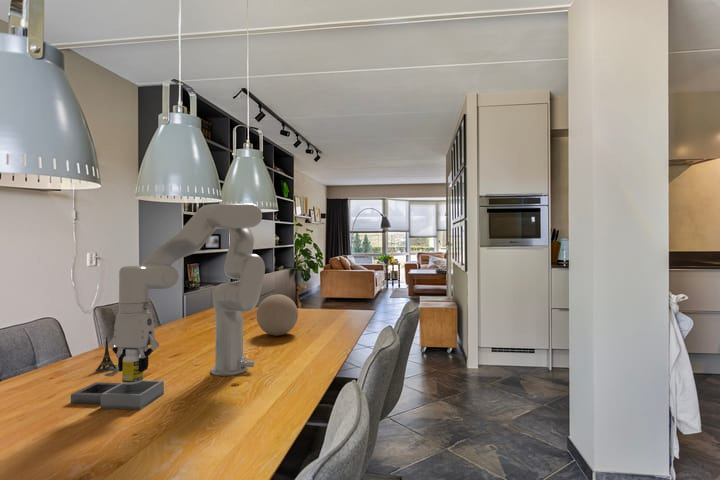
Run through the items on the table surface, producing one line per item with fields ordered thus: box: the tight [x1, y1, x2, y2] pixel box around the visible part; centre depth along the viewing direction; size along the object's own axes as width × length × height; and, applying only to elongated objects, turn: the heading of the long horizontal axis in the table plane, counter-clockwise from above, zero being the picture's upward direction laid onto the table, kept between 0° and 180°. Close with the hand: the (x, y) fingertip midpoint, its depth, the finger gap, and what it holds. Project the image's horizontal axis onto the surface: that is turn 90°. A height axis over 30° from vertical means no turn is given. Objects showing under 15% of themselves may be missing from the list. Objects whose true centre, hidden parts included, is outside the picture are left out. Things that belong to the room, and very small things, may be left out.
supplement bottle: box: [121, 348, 145, 384], centre depth 119 cm, size 5×5×10 cm
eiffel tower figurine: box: [95, 336, 120, 377], centre depth 148 cm, size 15×10×13 cm
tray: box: [100, 379, 165, 411], centre depth 119 cm, size 12×12×4 cm
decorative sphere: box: [256, 293, 299, 337], centre depth 201 cm, size 20×20×20 cm
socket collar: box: [70, 381, 122, 405], centre depth 122 cm, size 10×10×2 cm
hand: (133, 369), depth 119 cm, fingers closed on supplement bottle, 5 cm apart
